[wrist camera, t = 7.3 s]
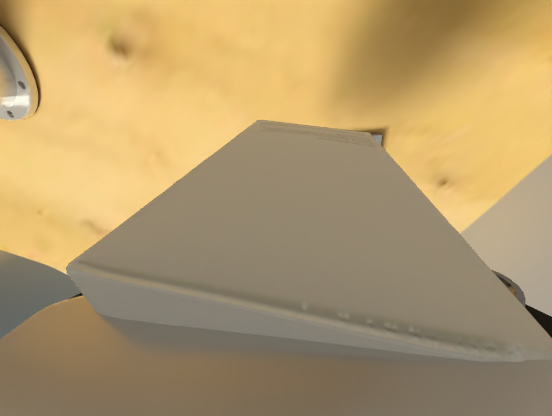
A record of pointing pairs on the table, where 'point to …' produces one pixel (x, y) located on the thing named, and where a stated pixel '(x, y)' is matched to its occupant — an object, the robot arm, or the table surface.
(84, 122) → the table surface
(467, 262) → the supplement box
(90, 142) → the table surface
